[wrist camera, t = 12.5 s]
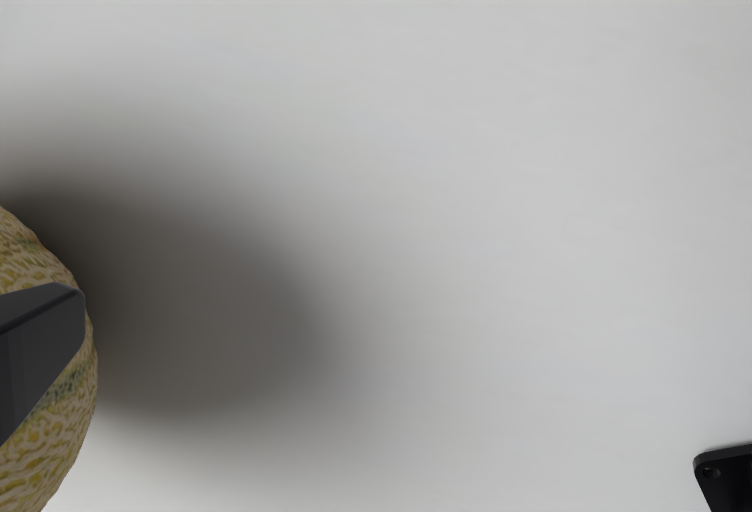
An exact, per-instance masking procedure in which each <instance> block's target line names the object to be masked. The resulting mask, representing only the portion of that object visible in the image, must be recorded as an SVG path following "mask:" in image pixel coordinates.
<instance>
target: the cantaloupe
mask: <svg viewBox="0 0 752 512" xmlns="http://www.w3.org/2000/svg"><path fill="white" fill-rule="evenodd" d="M50 282H62V283H65V284H68V285H70V286H73V287H75V288H78V289H79V287H78V285H77V283H76V281H75V279H74V277H73V275H72V273H71V272H70V271H69V270H68V269H67V268H66V267H65V266H64V265H63V264H62V263H61V262H60V260H59V259H58V258H57V257H56V256H55V255H54V254H52V253H51V252H50V251H48V250H47V249H46V248H44V247H43V245H42V244H41V242H40V241H39V239H38V238H37V236H36V235H35V233H34V232H33V231H31V230H30V229H29V228H27V227H26V226H25V225H24V224H23V223H22V222H21V221H20V220H19V219H18V218H17V217H16V216H14V215H13V214H12V213H10V212H8V211H7V210H5V209H4V208H3V207H2V206H0V294H5V293H9V292H13V291H17V290H21V289H25V288H29V287H33V286H37V285H42V284H46V283H50ZM92 334H93V327H92V324H91V322H90V319H89V317H88V314H87V311H86V335H85V339H84V342H83V345H82V346H81V348H80V350H79V351H78V352H77V354H76V355H75V356H74V358H73V359H72V360H71V362H70V363H69V364H68V365H67V367H66V368H65V369H64V371H63V372H62V373H61V374H60V376H59V377H58V378H57V380H56V381H55V382H54V383H53V385H52V386H51V387H50V389H49V390H48V391H47V392H46V394H45V395H44V396H43V398H42V399H41V400H40V401H39V403H38V404H37V405H36V407H35V408H34V409H33V410H32V412H31V413H30V414H29V416H28V417H27V418H26V419H25V421H24V422H23V423H22V424H21V425H20V427H19V428H18V429H17V430H16V431H15V432H14V434H13V435H12V436H11V437H10V438H9V439H8V440H7V441H6V442H5V443H4V444H3V446H2V447H1V448H0V512H41V510H42V509H43V508H44V507H45V505H46V504H47V502H48V501H49V500H50V498H51V497H52V496H53V495H54V494H55V493H56V492H57V490H58V488H59V486H60V484H61V483H62V481H63V479H64V477H65V476H66V474H67V473H68V472H69V470H70V469H71V467H72V466H73V464H74V463H75V460H76V458H77V456H78V453H79V451H80V449H81V446H82V444H83V441H84V438H85V436H86V433H87V430H88V427H89V424H90V421H91V418H92V415H93V413H94V407H95V400H96V395H97V390H98V377H97V372H98V359H97V351H96V348H95V345H94V343H93V338H92Z"/></svg>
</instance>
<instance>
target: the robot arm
mask: <svg viewBox="0 0 752 512" xmlns="http://www.w3.org/2000/svg"><path fill="white" fill-rule="evenodd" d="M85 335H86V301H85V295H84V293H83V291H81V290H80V289H78V288H75V287H73V286H70V285H68V284H65V283H62V282H50V283H46V284H42V285H37V286H33V287H29V288H25V289H21V290H17V291H13V292H9V293H5V294H0V448H1V447H2V446H3V444H4V443H5V442H6V441H7V440H8V439H9V438H10V437H11V436H12V435H13V434H14V432H15V431H16V430H17V429H18V428H19V427H20V425H21V424H22V423H23V422H24V421H25V419H26V418H27V417H28V416H29V414H30V413H31V412H32V410H33V409H34V408H35V407H36V405H37V404H38V403H39V401H40V400H41V399H42V398H43V396H44V395H45V394H46V392H47V391H48V390H49V389H50V387H51V386H52V385H53V383H54V382H55V381H56V380H57V378H58V377H59V376H60V374H61V373H62V372H63V371H64V369H65V368H66V367H67V365H68V364H69V363H70V362H71V360H72V359H73V358H74V356H75V355H76V354H77V352H78V351H79V350H80V348H81V346H82V345H83V342H84V339H85ZM693 467H694V473H695V477H696V479H697V481H698V484H699V486H700V488H701V490H702V492H703V494H704V497H705V499H706V501H707V503H708V505H709V508H710V510H711V512H752V444H749V445H744V446H738V447H733V448H727V449H721V450H716V451H710V452H705V453H702V454H699V455H698V456H696V457H695V458H694V460H693ZM707 467H714V468H716V469H714V470H706V469H705V468H707Z"/></svg>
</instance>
